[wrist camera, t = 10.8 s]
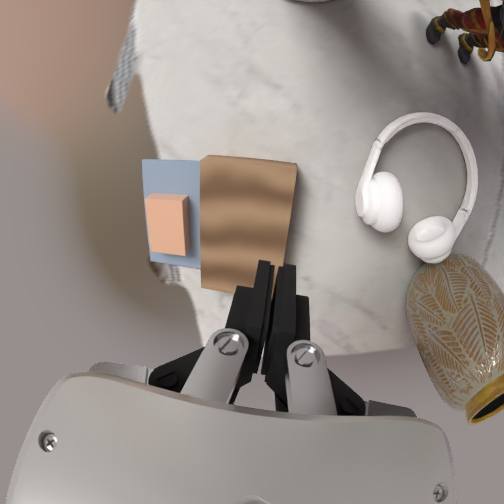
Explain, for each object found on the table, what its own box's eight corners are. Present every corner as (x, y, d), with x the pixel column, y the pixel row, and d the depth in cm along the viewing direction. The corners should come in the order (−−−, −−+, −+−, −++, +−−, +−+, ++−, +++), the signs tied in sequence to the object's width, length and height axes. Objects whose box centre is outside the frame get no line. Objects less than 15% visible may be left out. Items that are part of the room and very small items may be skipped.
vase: (486, 266, 38) (553, 369, 15) (433, 326, 47) (471, 436, 23) (440, 224, 36) (534, 348, 13) (380, 299, 45) (417, 439, 22)
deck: (208, 154, 36) (200, 160, 32) (296, 163, 35) (297, 170, 32) (207, 273, 46) (201, 287, 43) (278, 283, 45) (277, 299, 42)
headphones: (425, 258, 39) (480, 162, 31) (447, 282, 32) (510, 171, 24) (334, 200, 37) (396, 85, 29) (348, 218, 30) (423, 78, 21)
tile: (182, 200, 37) (187, 195, 39) (144, 198, 37) (152, 193, 40) (185, 255, 42) (190, 248, 44) (151, 251, 42) (157, 244, 44)
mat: (142, 159, 37) (142, 159, 37) (205, 161, 36) (204, 161, 36) (151, 260, 46) (150, 261, 46) (204, 268, 46) (204, 269, 45)
